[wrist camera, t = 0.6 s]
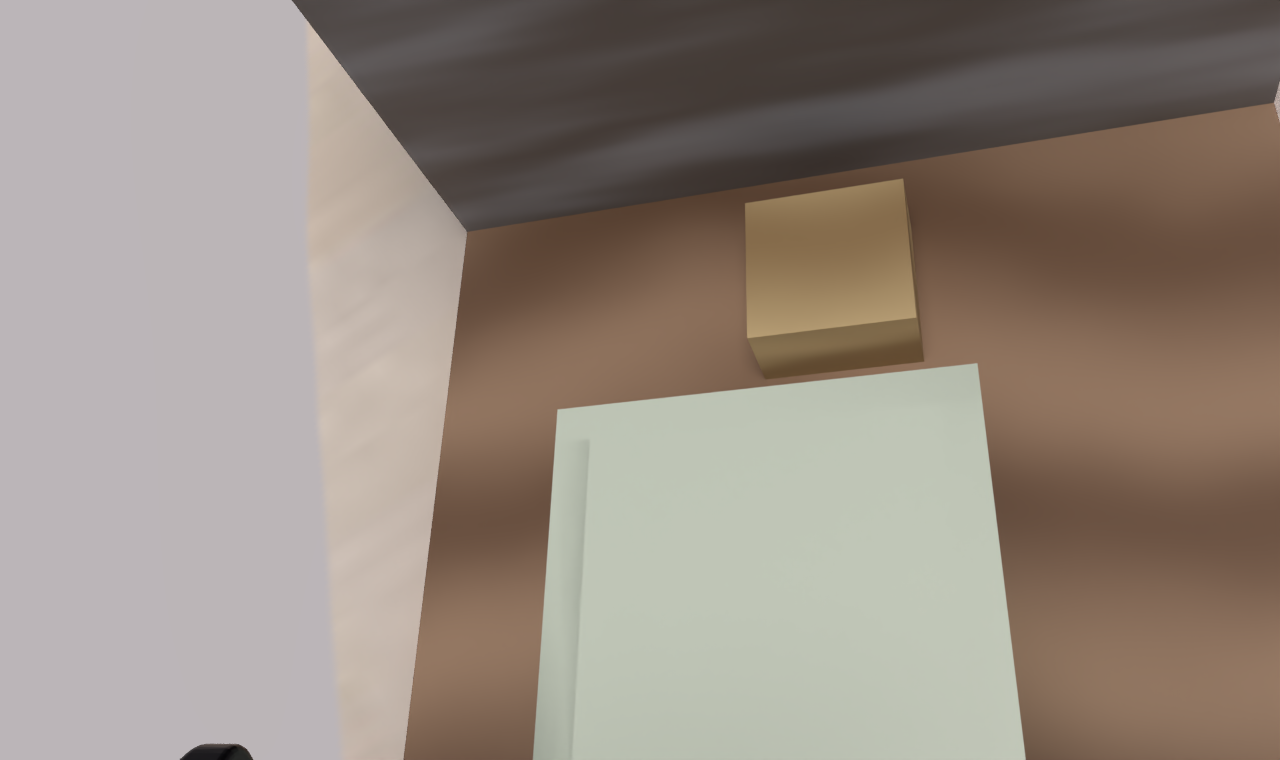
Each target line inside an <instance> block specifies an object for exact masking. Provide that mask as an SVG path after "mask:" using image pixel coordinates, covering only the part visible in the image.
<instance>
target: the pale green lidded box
mask: <svg viewBox="0 0 1280 760" xmlns="http://www.w3.org/2000/svg"><path fill="white" fill-rule="evenodd" d="M533 760H1026V758H1025V749H1024V741H1023V733H1022V725H1021V717H1020V708H1019V700H1018V692H1017V684H1016V676H1015V667H1014V659H1013V651H1012V643H1011V635H1010V626H1009V618H1008V610H1007V602H1006V594H1005V585H1004V577H1003V569H1002V561H1001V553H1000V544H999V536H998V528H997V520H996V512H995V503H994V495H993V487H992V479H991V471H990V462H989V454H988V446H987V438H986V430H985V421H984V413H983V405H982V397H981V389H980V380H979V372H978V364H977V363H975V364H966V365H957V366H948V367H939V368H930V369H920V370H911V371H902V372H893V373H884V374H875V375H866V376H857V377H848V378H839V379H830V380H821V381H812V382H803V383H794V384H785V385H775V386H766V387H757V388H748V389H739V390H730V391H721V392H712V393H703V394H694V395H685V396H676V397H667V398H658V399H649V400H639V401H630V402H621V403H612V404H603V405H594V406H585V407H576V408H567V409H558V410H557V424H556V438H555V453H554V467H553V481H552V495H551V509H550V523H549V538H548V552H547V566H546V580H545V594H544V609H543V623H542V637H541V651H540V665H539V679H538V694H537V708H536V722H535V736H534V750H533Z"/></svg>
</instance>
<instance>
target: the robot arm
mask: <svg viewBox="0 0 1280 760" xmlns="http://www.w3.org/2000/svg"><path fill="white" fill-rule="evenodd" d="M180 760H253V759H252V757H251V755H250V753H249V752H248V751H247V749H246V748H245V747H243V746H241V745H239V744H204V745H199V746H197V747H195V748H193V749H192V750H190V751H189V752H188V753H186V754H185V755H184V756H183V757H182V758H181V759H180Z"/></svg>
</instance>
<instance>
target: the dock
mask: <svg viewBox="0 0 1280 760" xmlns="http://www.w3.org/2000/svg"><path fill="white" fill-rule="evenodd" d="M292 1H293V2H294V3H295V5H296V6H297V7H298V9H299V10H300V11H301V13H302V14H303V15H304V17H305V18H306V19H307V21H308V22H309V23H310V25H311V26H312V27H313V29H314V30H315V31H316V33H317V34H318V35H319V37H320V38H321V39H322V40H323V42H324V43H325V44H326V46H327V47H328V48H329V50H330V51H331V52H332V54H333V55H334V56H335V58H336V59H337V60H338V62H339V63H340V64H341V66H342V67H343V68H344V70H345V71H346V72H347V73H348V75H349V76H350V77H351V79H352V80H353V81H354V83H355V84H356V85H357V87H358V88H359V89H360V91H361V92H362V93H363V95H364V96H365V97H366V99H367V100H368V101H369V103H370V104H371V105H372V106H373V108H374V109H375V110H376V112H377V113H378V114H379V116H380V117H381V118H382V120H383V121H384V122H385V124H386V125H387V126H388V128H389V129H390V130H391V132H392V133H393V134H394V136H395V137H396V138H397V140H398V141H399V142H400V143H401V145H402V146H403V147H404V149H405V150H406V151H407V153H408V154H409V155H410V157H411V158H412V159H413V161H414V162H415V163H416V165H417V166H418V167H419V169H420V170H421V171H422V173H423V174H424V175H425V176H426V178H427V179H428V180H429V182H430V183H431V184H432V186H433V187H434V188H435V190H436V191H437V192H438V194H439V195H440V196H441V198H442V199H443V200H444V202H445V203H446V204H447V206H448V207H449V208H450V209H451V211H452V212H453V213H454V215H455V216H456V217H457V219H458V220H459V221H460V223H461V224H462V225H463V227H464V228H465V229H466V231H467V240H466V248H465V256H464V264H463V273H462V281H461V289H460V297H459V306H458V314H457V322H456V330H455V339H454V347H453V355H452V364H451V372H450V380H449V388H448V397H447V405H446V413H445V421H444V430H443V438H442V446H441V454H440V463H439V471H438V479H437V487H436V496H435V504H434V512H433V521H432V529H431V537H430V545H429V554H428V562H427V570H426V578H425V587H424V595H423V603H422V611H421V620H420V628H419V636H418V645H417V653H416V661H415V669H414V678H413V686H412V694H411V702H410V711H409V719H408V727H407V735H406V744H405V752H404V760H533V750H534V736H535V722H536V708H537V694H538V679H539V665H540V651H541V637H542V623H543V609H544V594H545V580H546V566H547V552H548V538H549V523H550V509H551V495H552V481H553V467H554V453H555V438H556V424H557V410H558V409H567V408H576V407H585V406H594V405H603V404H612V403H621V402H630V401H639V400H649V399H658V398H667V397H676V396H685V395H694V394H703V393H712V392H721V391H730V390H739V389H748V388H757V387H766V386H775V385H785V384H794V383H803V382H812V381H821V380H830V379H839V378H848V377H857V376H866V375H875V374H884V373H893V372H902V371H911V370H920V369H930V368H939V367H948V366H957V365H966V364H975V363H977V364H978V372H979V380H980V389H981V397H982V405H983V413H984V421H985V430H986V438H987V446H988V454H989V462H990V471H991V479H992V487H993V495H994V503H995V512H996V520H997V528H998V536H999V544H1000V553H1001V561H1002V569H1003V577H1004V585H1005V594H1006V602H1007V610H1008V618H1009V626H1010V635H1011V643H1012V651H1013V659H1014V667H1015V676H1016V684H1017V692H1018V700H1019V708H1020V717H1021V725H1022V733H1023V741H1024V749H1025V758H1026V760H1280V122H1279V119H1278V115H1277V112H1276V109H1275V105H1274V100H1275V97H1276V93H1277V89H1278V85H1279V82H1280V0H292Z"/></svg>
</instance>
